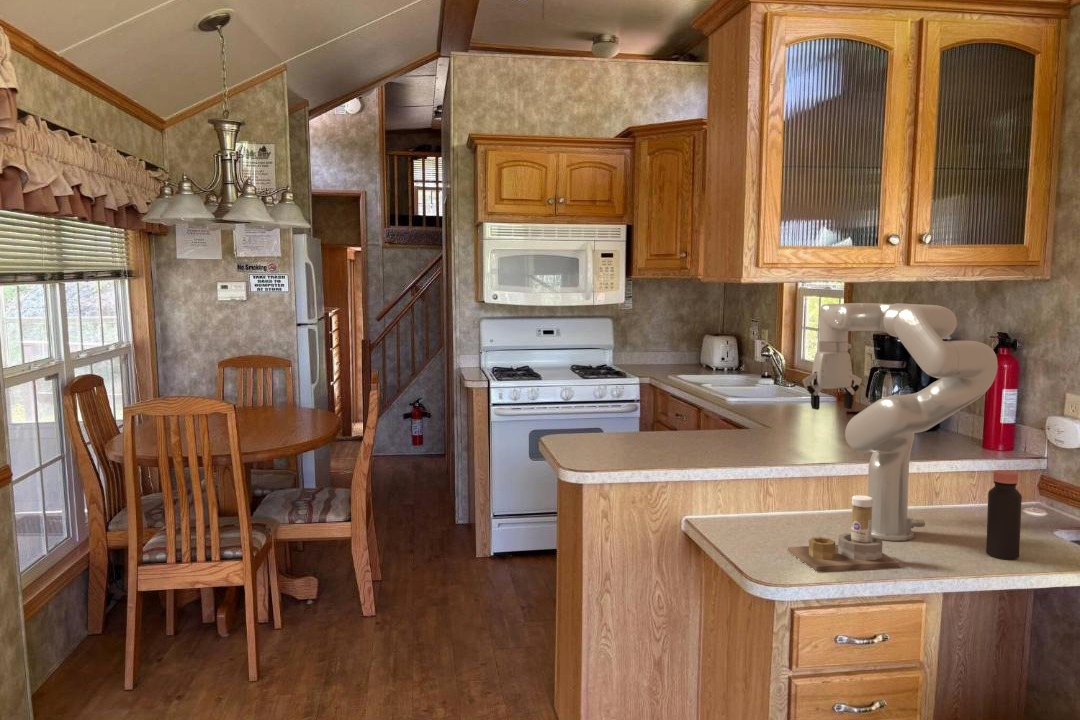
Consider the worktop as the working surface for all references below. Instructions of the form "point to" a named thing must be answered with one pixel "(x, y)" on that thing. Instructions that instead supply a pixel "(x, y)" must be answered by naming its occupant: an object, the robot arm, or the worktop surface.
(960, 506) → the worktop surface
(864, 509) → the sprinkles bottle
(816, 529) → the worktop surface
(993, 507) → the brown bottle
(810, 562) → the fitting board
